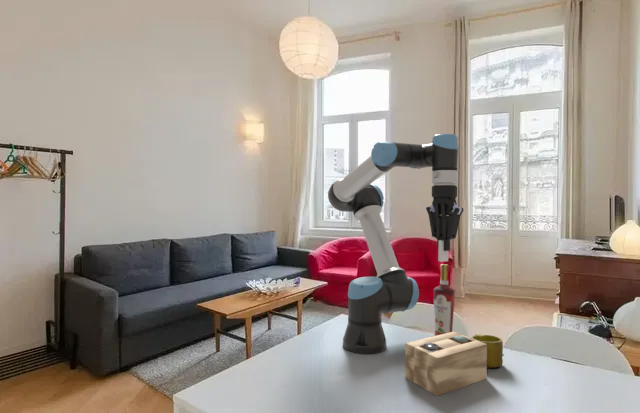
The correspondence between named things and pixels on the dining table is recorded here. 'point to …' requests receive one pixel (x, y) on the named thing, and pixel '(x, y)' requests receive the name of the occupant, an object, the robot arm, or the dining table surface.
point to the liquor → (443, 304)
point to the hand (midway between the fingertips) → (443, 260)
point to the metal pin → (431, 347)
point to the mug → (492, 349)
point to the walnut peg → (460, 339)
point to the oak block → (445, 363)
